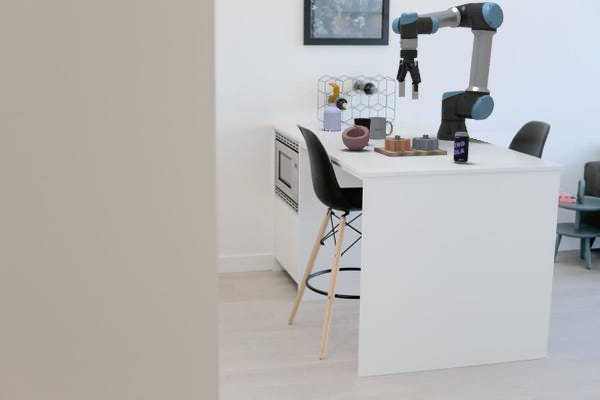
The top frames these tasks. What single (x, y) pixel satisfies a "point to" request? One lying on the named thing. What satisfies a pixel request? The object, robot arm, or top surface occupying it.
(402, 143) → the loose gear
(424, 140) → the seated gear
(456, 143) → the beverage can
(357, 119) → the cup
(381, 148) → the gear board
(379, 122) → the mug
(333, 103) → the soap bottle
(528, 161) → the top surface
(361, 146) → the mortar and pestle
